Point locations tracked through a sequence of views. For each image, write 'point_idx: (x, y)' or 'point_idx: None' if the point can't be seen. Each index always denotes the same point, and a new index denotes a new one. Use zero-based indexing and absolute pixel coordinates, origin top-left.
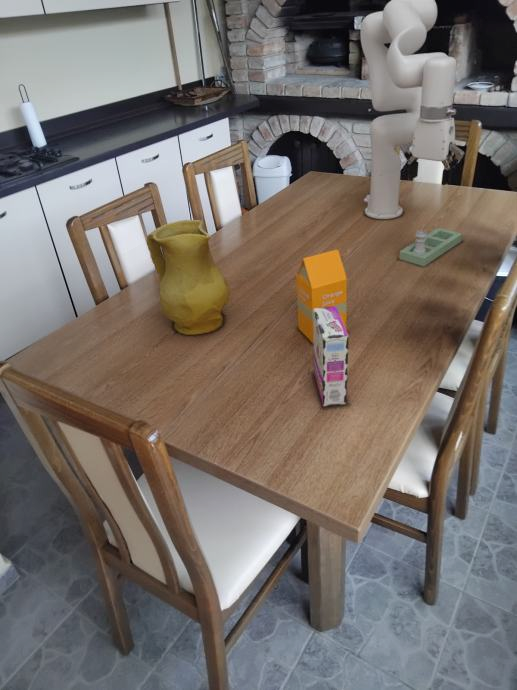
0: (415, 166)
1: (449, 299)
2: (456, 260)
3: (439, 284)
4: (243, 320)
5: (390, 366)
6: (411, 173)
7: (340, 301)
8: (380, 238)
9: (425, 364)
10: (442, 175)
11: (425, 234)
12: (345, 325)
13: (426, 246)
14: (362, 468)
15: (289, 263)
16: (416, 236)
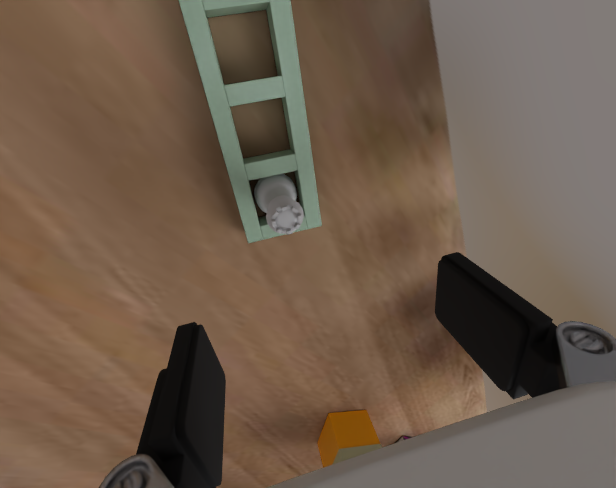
0: (206, 434)
1: (426, 269)
2: (352, 129)
3: (386, 247)
4: (255, 480)
5: (438, 398)
6: (220, 415)
7: None
8: (84, 178)
9: (465, 373)
10: (474, 360)
11: (301, 214)
12: (370, 422)
13: (275, 168)
14: None
15: (112, 408)
16: (283, 233)
